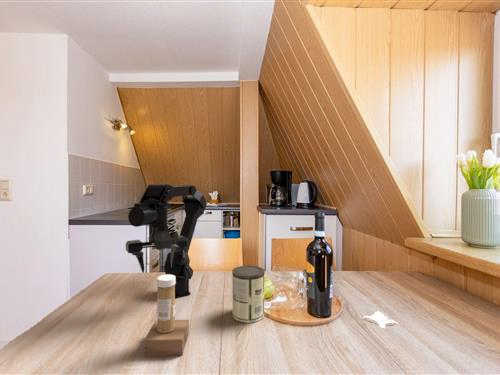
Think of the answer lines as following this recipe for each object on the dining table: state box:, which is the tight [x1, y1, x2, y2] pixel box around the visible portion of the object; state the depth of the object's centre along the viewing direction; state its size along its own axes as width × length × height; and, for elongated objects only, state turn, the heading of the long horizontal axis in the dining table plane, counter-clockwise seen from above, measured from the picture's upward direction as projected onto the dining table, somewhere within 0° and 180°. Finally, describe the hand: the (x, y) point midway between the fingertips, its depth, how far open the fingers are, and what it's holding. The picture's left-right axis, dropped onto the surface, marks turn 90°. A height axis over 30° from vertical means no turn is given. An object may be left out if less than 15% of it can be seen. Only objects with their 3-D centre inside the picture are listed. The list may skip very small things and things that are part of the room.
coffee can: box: [231, 265, 266, 324], centre depth 83 cm, size 10×10×14 cm
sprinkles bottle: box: [156, 274, 176, 333], centre depth 67 cm, size 5×5×14 cm
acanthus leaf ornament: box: [361, 311, 399, 330], centre depth 79 cm, size 8×7×2 cm
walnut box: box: [143, 319, 190, 358], centre depth 67 cm, size 9×9×4 cm
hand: (157, 269), depth 85 cm, fingers open, 9 cm apart
